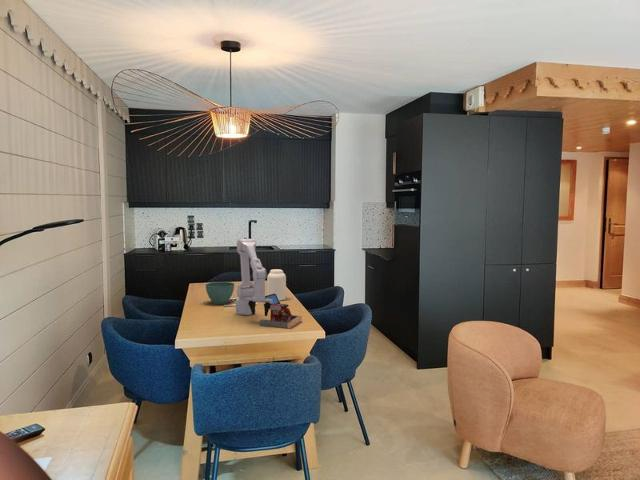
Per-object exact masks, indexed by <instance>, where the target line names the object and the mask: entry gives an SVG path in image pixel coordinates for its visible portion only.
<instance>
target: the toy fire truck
mask: <svg viewBox="0 0 640 480" xmlns="http://www.w3.org/2000/svg"><path fill="white" fill-rule="evenodd" d="M287 305H288V304H287ZM287 305H284V306H283V305H278V304H271V305H270V309H269V310H270V317H269V318H270V319H269V320H274V321H284V322H290V321H291V320H292V315H293V314H292V312H291V311H290V308H289V307H288V306H287ZM282 315H283V316H282ZM281 316H282V317H281Z"/></svg>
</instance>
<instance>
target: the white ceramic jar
mask: <svg viewBox="0 0 640 480" xmlns="http://www.w3.org/2000/svg"><path fill="white" fill-rule="evenodd" d="M266 279H267V282H266V287H267V288H266V289H267V290H266V291H267V293H266V294H267V295H271V294H276V296H277V298H278V300H279V302H280V301H285V300H286V298H287V296H286V295H287V291H286V290H287V276H286V273H284V270H282V269H277V268H274V269H270V271H269V273H267V277H266ZM267 295H266V296H267Z"/></svg>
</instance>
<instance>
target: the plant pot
mask: <svg viewBox="0 0 640 480" xmlns="http://www.w3.org/2000/svg"><path fill="white" fill-rule="evenodd" d="M234 289H235V283H233V282H230V281H213V282H208V283H206V284H205V291H206V294H207V296H208V298H209V299H210V301H211V302H212V303H213V304H215V305H225V304H228V302H229V300H230V299H231V298H232V296H233V293H234Z"/></svg>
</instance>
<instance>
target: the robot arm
mask: <svg viewBox="0 0 640 480" xmlns="http://www.w3.org/2000/svg"><path fill="white" fill-rule="evenodd" d="M256 248H257V242H256V239H255V238H238V239H237V242H236V251H237V254H239V258H240V274H241V282H240V283H239V284H238V285H237V287H236V288H237V289H236V295H237V299H236V300H235V315H242V316H245V315H246V316H251V315H252V316H254V315H256V304H257V303H263V308H264V317H268V314H269V310H270V309H269V308H270V305H271V304H272V303H273V299H267V298H265V296H266V279H267V276H268V272H267V269H266V268H265V267H263V264H262V261H261V259H260V258H258V256H257V253H256ZM250 267H251V269H252V278H253V282H251V274H250V272H251V271H250Z"/></svg>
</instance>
